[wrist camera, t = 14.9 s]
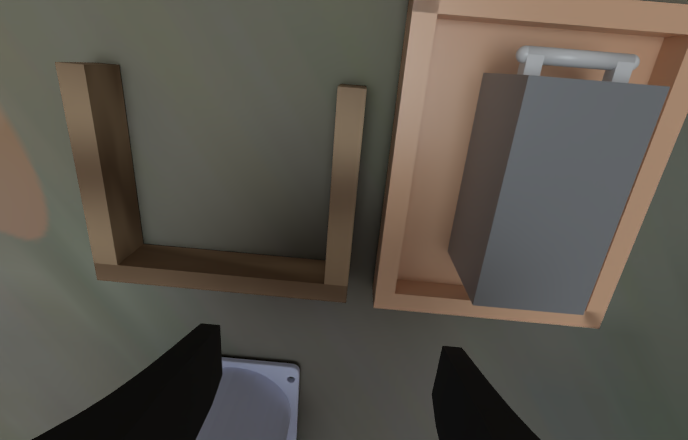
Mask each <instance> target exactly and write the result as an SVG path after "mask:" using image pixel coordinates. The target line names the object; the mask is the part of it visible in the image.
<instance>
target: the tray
mask: <svg viewBox="0 0 688 440" xmlns="http://www.w3.org/2000/svg"><path fill="white" fill-rule="evenodd" d="M525 45H528V46H541V47H553V48H565V49H578V50H590V51H602V52H615V53H627V54H635V55H637V56H638V57H639V58H640V64H639V66H638V67H637V68H636V69H635V70H633V71H632V73H631V76H630V79H629V82H628V83H632V84H644V85H656V86H668V87H670V89H669V91H668V94H667V97H666V99H665V102H664V105H663V107H662V110H661V112H660V115H659V118H658V120H657V123H656V126H655V128H654V131H653V133H652V136H651V139H650V141H649V144H648V147H647V149H646V152H645V154H644V157H643V160H642V162H641V165H640V168H639V170H638V173H637V175H636V178H635V181H634V183H633V186H632V189H631V191H630V194H629V196H628V199H627V202H626V204H625V207H624V210H623V212H622V215H621V217H620V220H619V223H618V225H617V228H616V231H615V233H614V236H613V238H612V241H611V244H610V246H609V249H608V252H607V254H606V257H605V260H604V262H603V265H602V267H601V270H600V273H599V275H598V278H597V281H596V283H595V286H594V288H593V291H592V294H591V296H590V299H589V302H588V304H587V307H586V309H585V312H584V315H576V314H565V313H553V312H542V311H531V310H520V309H508V308H497V307H486V306H474V305H472V303H471V301H470V298H469V296H468V294H467V292H466V290H465V288H464V286H463V283H462V281H461V279H460V277H459V275H458V273H457V271H456V268H455V266H454V264H453V262H452V260H451V258H450V255H449V253H448V246H449V241H450V236H451V231H452V226H453V221H454V216H455V211H456V206H457V201H458V196H459V191H460V186H461V181H462V176H463V171H464V166H465V162H466V157H467V152H468V147H469V142H470V137H471V132H472V127H473V122H474V117H475V112H476V107H477V102H478V97H479V92H480V87H481V82H482V77H483V73H498V74H517V72H518V67H519V63H520V62H518V61H517V59H516V52H517V50H518V49H519V48H520V47H522V46H525ZM604 73H605V70H598V69H586V68H574V67H562V66H549V65H542V69H541V73H540V76H546V77H558V78H571V79H583V80H595V81H602V79H603V76H604ZM687 113H688V5H686V4H675V3H663V2H651V1H639V0H409V3H408V11H407V19H406V26H405V34H404V42H403V50H402V58H401V66H400V74H399V82H398V90H397V98H396V106H395V114H394V122H393V130H392V138H391V146H390V153H389V161H388V169H387V177H386V185H385V193H384V201H383V209H382V217H381V225H380V233H379V241H378V249H377V257H376V265H375V272H374V280H373V306H374V308H381V309H392V310H402V311H413V312H424V313H435V314H446V315H457V316H468V317H478V318H489V319H500V320H511V321H522V322H533V323H544V324H554V325H565V326H576V327H587V328H598V329H599V327H600V325H601V322H602V320H603V317H604V315H605V312H606V310H607V308H608V305H609V303H610V300H611V298H612V295H613V293H614V290H615V288H616V286H617V283H618V281H619V278H620V276H621V273H622V271H623V269H624V266H625V264H626V261H627V259H628V256H629V254H630V252H631V249H632V247H633V244H634V242H635V239H636V237H637V234H638V232H639V230H640V227H641V225H642V222H643V220H644V217H645V215H646V213H647V210H648V208H649V205H650V203H651V200H652V198H653V196H654V193H655V191H656V188H657V186H658V183H659V181H660V178H661V176H662V174H663V171H664V169H665V166H666V164H667V161H668V159H669V157H670V154H671V152H672V149H673V147H674V144H675V142H676V140H677V137H678V135H679V132H680V130H681V127H682V125H683V122H684V120H685V118H686V115H687Z"/></svg>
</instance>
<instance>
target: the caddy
mask: <svg viewBox="0 0 688 440" xmlns="http://www.w3.org/2000/svg"><path fill="white" fill-rule="evenodd" d="M516 59H517V61H518V62H520V63H519V67H518V72H517V74H498V73H483V77H482V82H481V87H480V92H479V97H478V102H477V107H476V112H475V117H474V122H473V127H472V132H471V137H470V142H469V147H468V152H467V157H466V162H465V166H464V171H463V176H462V181H461V186H460V191H459V196H458V201H457V206H456V211H455V216H454V221H453V226H452V231H451V236H450V241H449V246H448V253H449V255H450V258H451V260H452V262H453V264H454V266H455V268H456V271H457V273H458V275H459V277H460V279H461V281H462V283H463V286H464V288H465V290H466V292H467V294H468V296H469V298H470V301H471V303H472V305H474V306H486V307H497V308H508V309H520V310H531V311H542V312H553V313H565V314H576V315H584V312H585V309H586V307H587V304H588V302H589V299H590V296H591V294H592V291H593V288H594V286H595V283H596V281H597V278H598V275H599V273H600V270H601V267H602V265H603V262H604V260H605V257H606V254H607V252H608V249H609V246H610V244H611V241H612V238H613V236H614V233H615V231H616V228H617V225H618V223H619V220H620V217H621V215H622V212H623V210H624V207H625V204H626V202H627V199H628V196H629V194H630V191H631V189H632V186H633V183H634V181H635V178H636V175H637V173H638V170H639V168H640V165H641V162H642V160H643V157H644V154H645V152H646V149H647V147H648V144H649V141H650V139H651V136H652V133H653V131H654V128H655V126H656V123H657V120H658V118H659V115H660V112H661V110H662V107H663V105H664V102H665V99H666V97H667V94H668V91H669V89H670V87H668V86H656V85H644V84H632V83H628V82H629V79H630V76H631V73H632V71H633V70H635V69H636V68H637V67H638V66H639V64H640V58H639V57H638V56H637V55H635V54H627V53H615V52H602V51H590V50H578V49H565V48H553V47H541V46H528V45H525V46H522V47H520V48H519V49H518V50H517V52H516ZM542 65H549V66H562V67H574V68H586V69H598V70H605V73H604V76H603V79H602V81H595V80H583V79H571V78H558V77H546V76H540V73H541V69H542Z"/></svg>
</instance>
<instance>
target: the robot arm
mask: <svg viewBox="0 0 688 440" xmlns="http://www.w3.org/2000/svg"><path fill="white" fill-rule="evenodd" d="M290 377H294V378H290ZM299 378H300V369H299V367H298V366H297V365H296V364H291V363H280V362H270V361H259V360H248V359H238V358H227V357H222V354H221V336H220V325H212V324H202V323H201V324H200V325H199V326H198V327H196V328H195V329H194V330H192V331H191V332H190V333H189V334H188V335H186V336H185V337H184V338H183V339H182V340H180V341H179V342H178V343H177V344H176V345H174V346H173V347H172V348H171V349H169V350H168V351H167V352H166V353H165V354H163V355H162V356H161V357H159V358H158V359H157V360H156V361H154V362H153V363H152V364H151V365H149V366H148V367H147V368H146V369H144V370H143V371H142V372H140V373H139V374H137V375H136V376H135V377H133V378H132V379H131V380H129V381H128V382H126V383H125V384H124V385H122V386H121V387H120V388H118V389H117V390H115V391H114V392H112V393H111V394H109V395H108V396H106V397H105V398H103V399H102V400H100V401H98V402H97V403H95V404H94V405H92V406H90V407H89V408H87V409H86V410H84V411H82V412H81V413H79V414H77V415H76V416H74V417H72V418H70V419H68V420H67V421H65V422H63V423H61V424H59V425H58V426H56V427H54V428H52V429H50V430H49V431H47V432H45V433H43V434H41V435H40V436H38V437H36V438H34V439H32V440H297V422H298V400H299ZM432 399H433V407H434V415H435V422H436V428H437V433H438V437H439V440H540V439H539V438H538V437H537V436H536V435H535V434H534V433H533V432H532V431H531V430H530V428H529V427H528V426H527V425H526V424H525V423H524V422H523V421H522V420H521V419H520V418H519V417H518V416H517V415H516V413H515V412H514V411H513V410H512V409H511V408H510V407H509V406H508V404H507V403H506V402H505V401H504V400H503V399H502V397H501V396H500V395H499V394H498V393H497V391H496V390H495V389H494V388H493V387H492V385H491V384H490V383H489V382H488V380H487V379H486V378H485V377H484V375H483V374H482V373H481V372H480V370H479V369H478V368H477V366H476V365H475V364H474V363H473V361H472V360H471V359H470V358H469V356H468V355H467V354H466V352H465V351H464V350H463V349H462V348H460V347H449V346H442V351H441V355H440V360H439V364H438V369H437V373H436V378H435V382H434V387H433V391H432Z"/></svg>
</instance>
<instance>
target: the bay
mask: <svg viewBox="0 0 688 440" xmlns="http://www.w3.org/2000/svg"><path fill="white" fill-rule="evenodd" d="M55 65H56V70H57V75H58V80H59V85H60V90H61V96H62V101H63V106H64V111H65V116H66V121H67V126H68V132H69V137H70V142H71V147H72V152H73V157H74V162H75V167H76V173H77V178H78V183H79V188H80V193H81V198H82V203H83V209H84V214H85V219H86V224H87V229H88V234H89V239H90V245H91V250H92V255H93V260H94V265H95V270H96V275H97V280H103V281H114V282H125V283H136V284H147V285H158V286H168V287H179V288H190V289H201V290H212V291H223V292H234V293H244V294H255V295H266V296H277V297H288V298H299V299H310V300H321V301H331V302H342V303H346V298H347V288H348V277H349V267H350V257H351V246H352V236H353V226H354V215H355V205H356V195H357V184H358V174H359V164H360V153H361V143H362V133H363V122H364V112H365V102H366V91H367V88H366V86H359V85H347V84H340V85H339V86H338V90H337V104H336V119H335V133H334V148H333V162H332V177H331V191H330V206H329V220H328V235H327V249H326V260H315V259H304V258H293V257H282V256H271V255H260V254H249V253H238V252H227V251H216V250H205V249H194V248H183V247H172V246H161V245H150V244H143V236H142V229H141V222H140V214H139V207H138V199H137V192H136V185H135V177H134V170H133V163H132V155H131V148H130V140H129V133H128V126H127V118H126V111H125V103H124V96H123V89H122V81H121V74H120V66H119V65H115V64H104V63H82V62H55Z"/></svg>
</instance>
